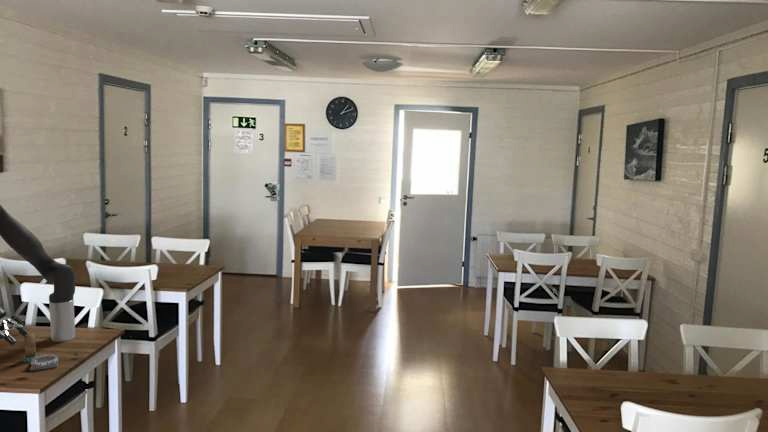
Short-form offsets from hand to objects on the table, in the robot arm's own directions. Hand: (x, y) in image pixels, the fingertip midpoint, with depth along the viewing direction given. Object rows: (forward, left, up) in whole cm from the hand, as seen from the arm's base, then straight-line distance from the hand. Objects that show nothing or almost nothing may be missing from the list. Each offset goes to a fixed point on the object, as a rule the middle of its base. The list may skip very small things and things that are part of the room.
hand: (21, 339), depth 223 cm
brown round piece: (+1, +3, -8) cm, 9 cm away
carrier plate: (+10, +8, -8) cm, 15 cm away
